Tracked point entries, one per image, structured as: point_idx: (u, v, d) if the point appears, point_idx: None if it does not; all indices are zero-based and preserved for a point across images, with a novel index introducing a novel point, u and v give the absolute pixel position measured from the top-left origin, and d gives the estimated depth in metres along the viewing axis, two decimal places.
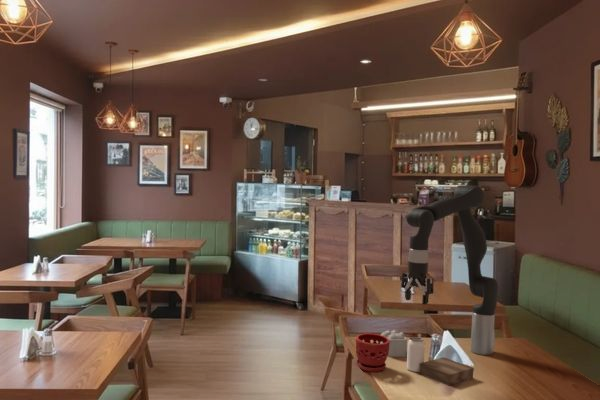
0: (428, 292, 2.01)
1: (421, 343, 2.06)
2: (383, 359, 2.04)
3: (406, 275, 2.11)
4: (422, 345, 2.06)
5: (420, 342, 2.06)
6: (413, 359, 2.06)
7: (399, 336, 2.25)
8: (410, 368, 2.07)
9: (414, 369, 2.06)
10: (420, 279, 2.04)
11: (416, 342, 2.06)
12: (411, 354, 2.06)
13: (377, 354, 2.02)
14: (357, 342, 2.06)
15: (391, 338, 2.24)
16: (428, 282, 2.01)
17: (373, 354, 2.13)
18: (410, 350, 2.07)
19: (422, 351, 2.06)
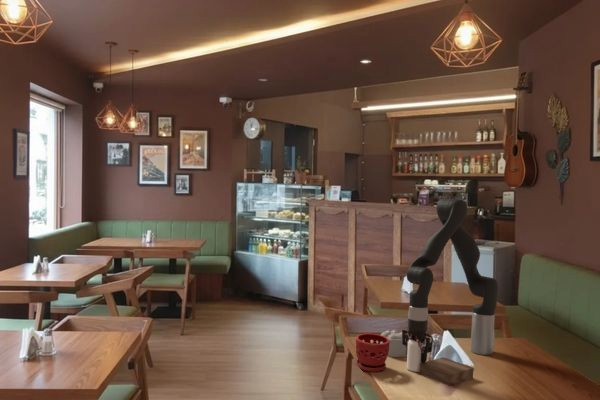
0: (426, 351, 2.03)
1: (421, 343, 2.06)
2: (383, 359, 2.04)
3: (406, 332, 2.12)
4: None
5: None
6: (413, 359, 2.06)
7: (399, 336, 2.25)
8: (410, 368, 2.07)
9: (414, 369, 2.06)
10: (420, 337, 2.05)
11: (416, 342, 2.06)
12: (411, 354, 2.06)
13: (377, 354, 2.02)
14: (357, 342, 2.06)
15: (391, 338, 2.24)
16: (427, 341, 2.02)
17: (373, 354, 2.13)
18: (410, 350, 2.07)
19: None
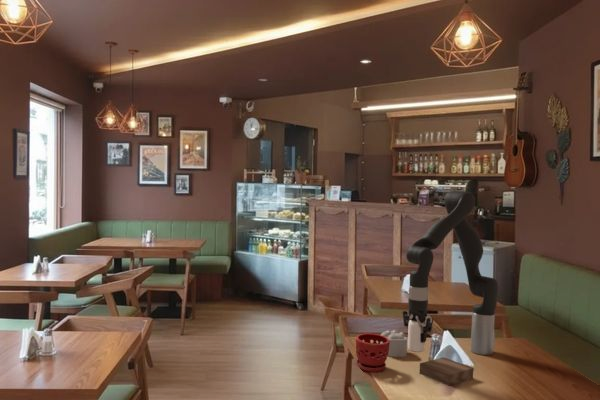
0: (426, 331, 2.03)
1: (422, 323, 2.06)
2: (383, 359, 2.04)
3: (406, 312, 2.12)
4: None
5: None
6: (414, 340, 2.06)
7: (399, 336, 2.25)
8: (411, 348, 2.07)
9: (415, 350, 2.06)
10: (420, 317, 2.05)
11: (417, 322, 2.06)
12: (412, 335, 2.06)
13: (377, 354, 2.02)
14: (357, 342, 2.06)
15: (391, 338, 2.24)
16: (428, 322, 2.02)
17: (373, 354, 2.13)
18: (411, 330, 2.07)
19: None
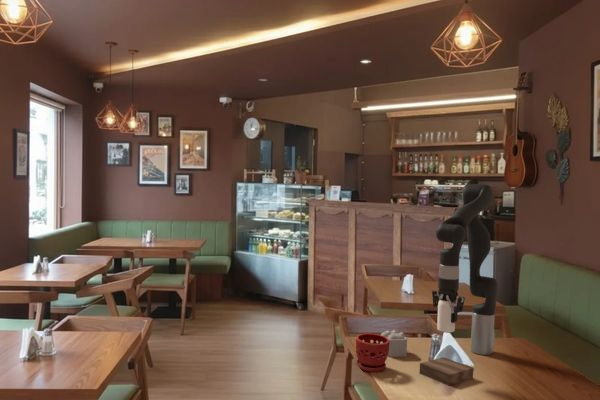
0: (457, 310, 1.97)
1: (452, 303, 2.00)
2: (383, 359, 2.04)
3: (436, 292, 2.06)
4: None
5: None
6: (444, 320, 2.00)
7: (399, 336, 2.25)
8: (441, 329, 2.01)
9: (445, 330, 2.00)
10: (451, 296, 2.00)
11: (447, 302, 2.00)
12: (442, 315, 2.00)
13: (377, 354, 2.02)
14: (357, 342, 2.06)
15: (391, 338, 2.24)
16: (459, 301, 1.97)
17: (373, 354, 2.13)
18: (441, 310, 2.01)
19: None
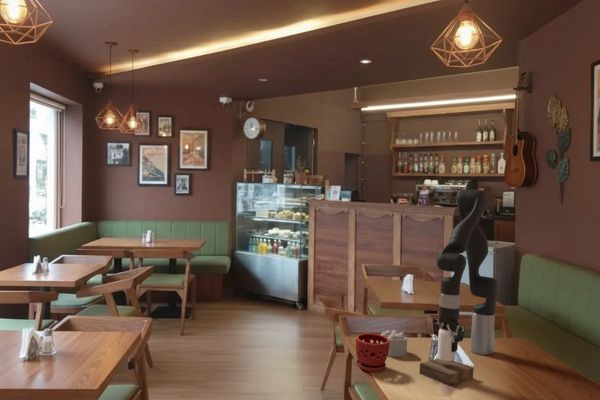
0: (457, 340, 1.97)
1: (453, 332, 2.00)
2: (383, 359, 2.04)
3: (436, 321, 2.06)
4: None
5: None
6: (444, 349, 2.00)
7: (399, 336, 2.25)
8: (441, 358, 2.01)
9: (445, 359, 2.00)
10: (452, 325, 2.00)
11: (448, 331, 2.00)
12: (443, 344, 2.00)
13: (377, 354, 2.02)
14: (357, 342, 2.06)
15: (391, 338, 2.24)
16: (460, 330, 1.97)
17: (373, 354, 2.13)
18: (441, 339, 2.01)
19: None
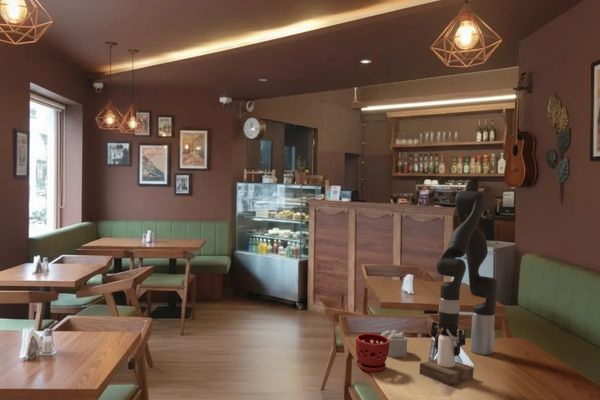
0: (460, 344, 1.96)
1: None
2: (383, 359, 2.04)
3: (436, 324, 2.06)
4: None
5: None
6: (444, 355, 2.00)
7: (399, 336, 2.25)
8: (441, 364, 2.01)
9: (445, 365, 2.00)
10: (451, 330, 2.00)
11: (447, 337, 2.00)
12: (442, 350, 2.01)
13: (377, 354, 2.02)
14: (357, 342, 2.06)
15: (391, 338, 2.24)
16: (460, 333, 1.96)
17: (373, 354, 2.13)
18: (441, 345, 2.01)
19: (453, 346, 2.00)
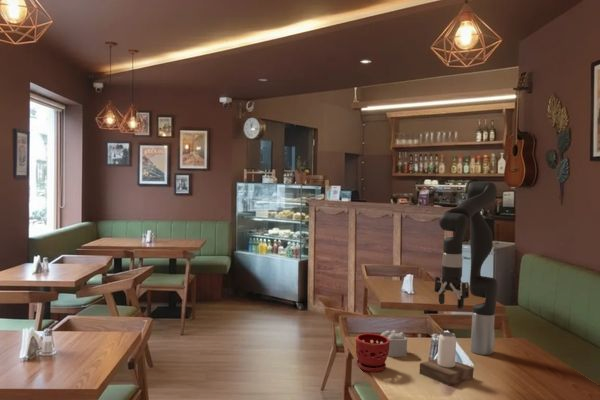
0: (463, 296, 2.00)
1: (453, 338, 2.00)
2: (383, 359, 2.04)
3: (439, 279, 2.09)
4: (454, 340, 2.00)
5: (452, 337, 2.00)
6: (444, 355, 2.00)
7: (399, 336, 2.25)
8: (441, 364, 2.01)
9: (445, 365, 2.00)
10: (455, 283, 2.03)
11: (447, 337, 2.00)
12: (443, 350, 2.01)
13: (377, 354, 2.02)
14: (357, 342, 2.06)
15: (391, 338, 2.24)
16: (463, 286, 2.00)
17: (373, 354, 2.13)
18: (441, 345, 2.01)
19: (454, 346, 2.00)
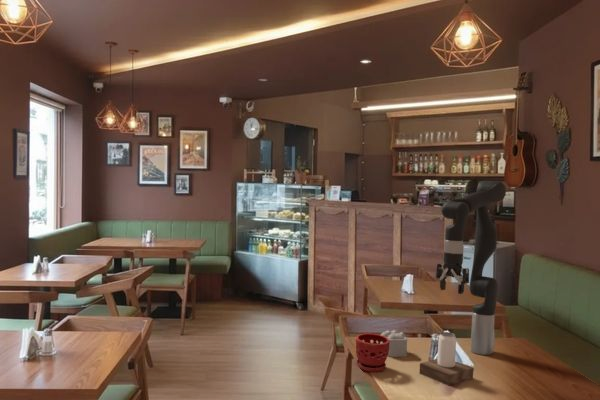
0: (464, 282, 2.07)
1: (453, 338, 2.00)
2: (383, 359, 2.04)
3: (441, 266, 2.17)
4: (454, 340, 2.00)
5: (452, 337, 2.00)
6: (444, 355, 2.00)
7: (399, 336, 2.25)
8: (441, 364, 2.01)
9: (445, 365, 2.00)
10: (456, 269, 2.10)
11: (447, 337, 2.00)
12: (443, 350, 2.01)
13: (377, 354, 2.02)
14: (357, 342, 2.06)
15: (391, 338, 2.24)
16: (464, 272, 2.07)
17: (373, 354, 2.13)
18: (441, 345, 2.01)
19: (454, 346, 2.00)
